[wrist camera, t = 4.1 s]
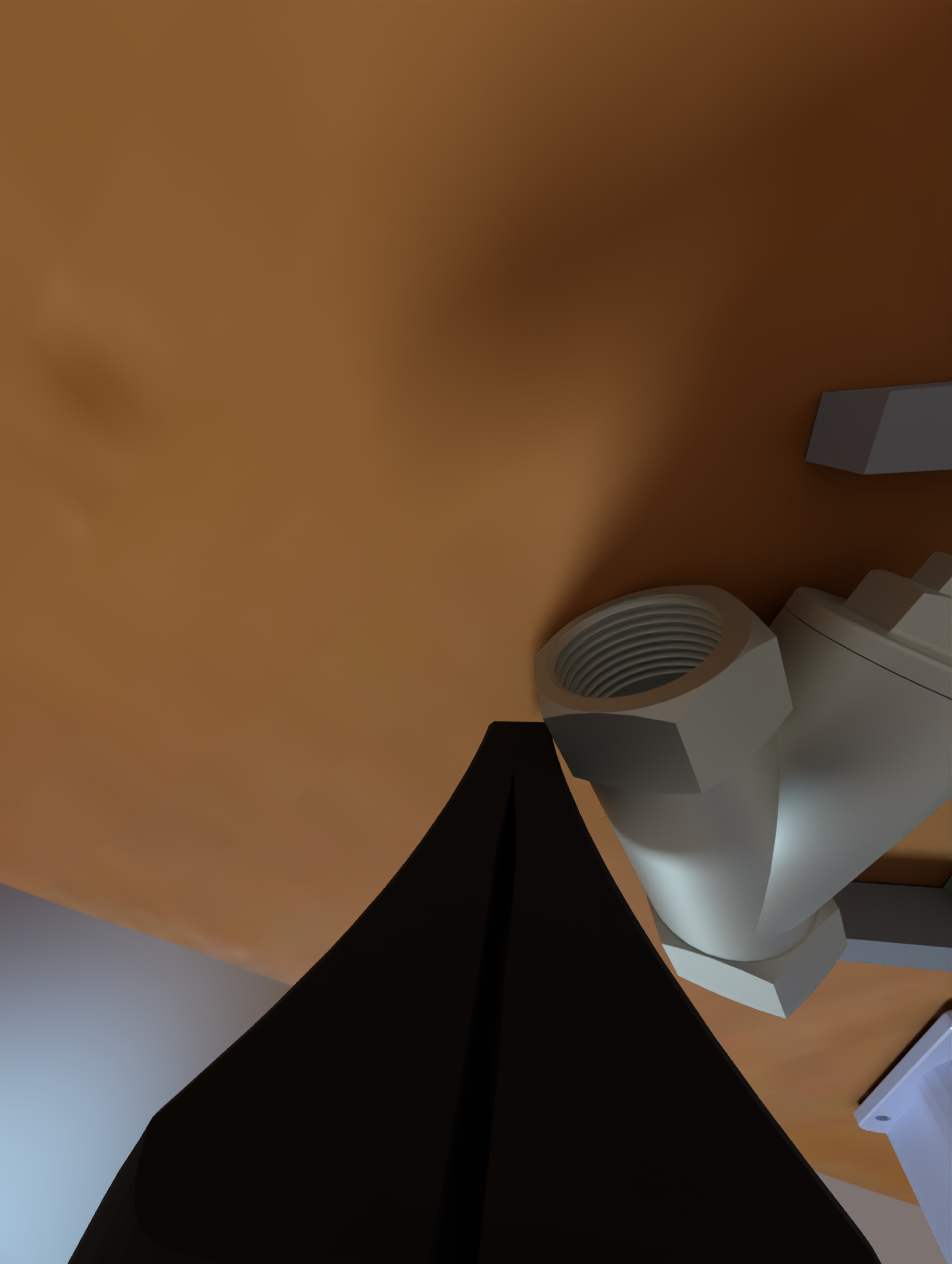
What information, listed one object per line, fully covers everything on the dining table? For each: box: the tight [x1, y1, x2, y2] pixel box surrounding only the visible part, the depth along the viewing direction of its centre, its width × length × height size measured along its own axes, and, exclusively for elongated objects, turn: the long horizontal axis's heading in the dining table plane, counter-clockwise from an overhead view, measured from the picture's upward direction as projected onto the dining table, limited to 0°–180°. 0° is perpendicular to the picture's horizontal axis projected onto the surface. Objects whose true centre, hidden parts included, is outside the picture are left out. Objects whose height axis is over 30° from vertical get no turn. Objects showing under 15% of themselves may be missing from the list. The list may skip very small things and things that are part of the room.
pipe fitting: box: [534, 551, 952, 1019], centre depth 8 cm, size 8×4×7 cm
